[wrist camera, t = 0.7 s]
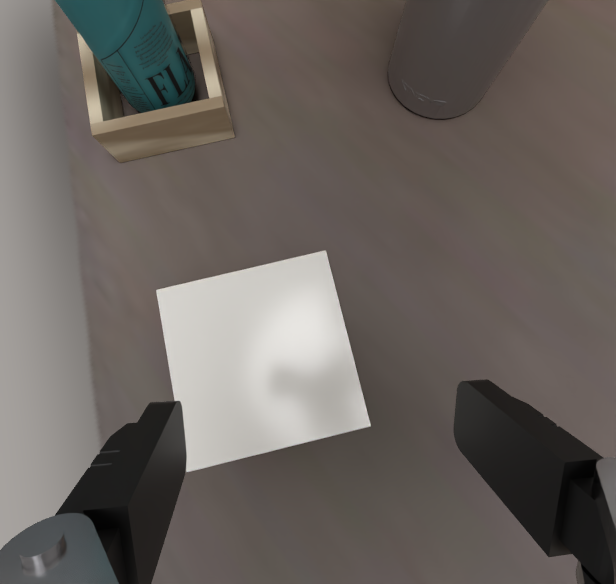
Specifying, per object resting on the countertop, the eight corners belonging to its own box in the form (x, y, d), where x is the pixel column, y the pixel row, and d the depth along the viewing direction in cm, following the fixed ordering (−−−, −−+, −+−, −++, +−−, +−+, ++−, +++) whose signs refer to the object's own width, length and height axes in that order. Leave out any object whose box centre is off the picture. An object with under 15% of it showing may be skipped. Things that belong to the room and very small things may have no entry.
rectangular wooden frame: (104, 62, 33) (75, 23, 29) (213, 39, 33) (199, -3, 29) (119, 162, 31) (92, 135, 27) (235, 137, 31) (224, 106, 27)
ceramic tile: (162, 292, 29) (156, 290, 28) (325, 254, 29) (325, 250, 28) (192, 466, 27) (186, 472, 25) (368, 422, 27) (370, 426, 26)
